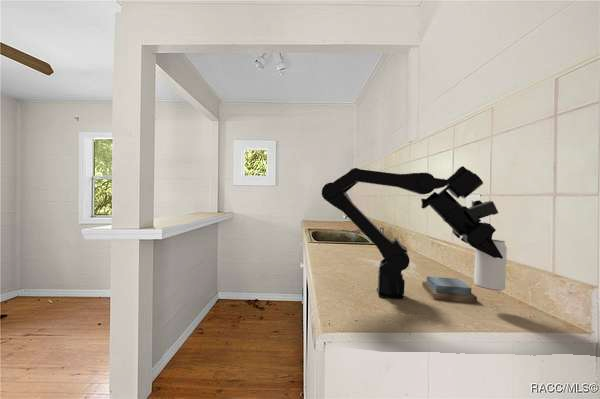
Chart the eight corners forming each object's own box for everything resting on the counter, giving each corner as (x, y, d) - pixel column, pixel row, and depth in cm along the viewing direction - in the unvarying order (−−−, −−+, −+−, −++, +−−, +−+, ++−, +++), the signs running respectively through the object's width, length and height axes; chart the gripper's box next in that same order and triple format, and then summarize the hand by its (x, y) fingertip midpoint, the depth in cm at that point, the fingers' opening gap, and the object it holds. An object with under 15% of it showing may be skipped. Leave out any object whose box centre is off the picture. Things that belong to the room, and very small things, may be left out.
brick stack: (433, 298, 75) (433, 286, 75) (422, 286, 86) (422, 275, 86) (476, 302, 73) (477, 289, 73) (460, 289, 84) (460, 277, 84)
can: (511, 292, 65) (513, 242, 66) (483, 289, 66) (485, 239, 66) (494, 285, 72) (496, 239, 72) (468, 282, 72) (471, 237, 73)
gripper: (487, 188, 62) (544, 241, 58) (467, 190, 79) (510, 232, 76) (446, 220, 65) (499, 273, 61) (435, 216, 82) (476, 256, 79)
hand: (496, 256), depth 69 cm, fingers closed on can, 6 cm apart
